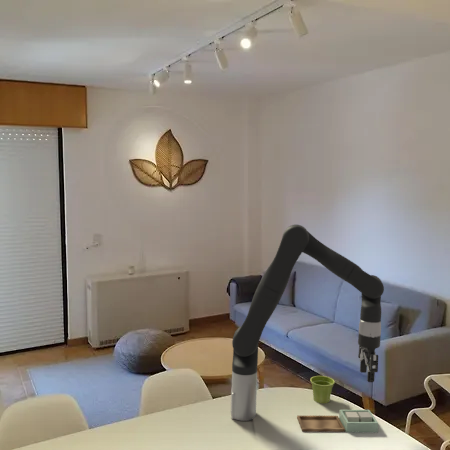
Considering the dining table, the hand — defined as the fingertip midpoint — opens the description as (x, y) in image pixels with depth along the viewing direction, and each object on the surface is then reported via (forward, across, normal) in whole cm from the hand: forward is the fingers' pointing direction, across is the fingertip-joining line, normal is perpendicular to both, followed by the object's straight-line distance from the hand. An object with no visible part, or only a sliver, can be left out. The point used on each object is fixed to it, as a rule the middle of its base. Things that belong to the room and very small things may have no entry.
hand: (366, 376), depth 182 cm
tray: (+19, 0, -16) cm, 24 cm away
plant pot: (+19, -20, -11) cm, 30 cm away
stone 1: (+18, 0, -4) cm, 19 cm away
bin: (+19, 0, -2) cm, 19 cm away
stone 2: (+18, 0, 0) cm, 18 cm away
